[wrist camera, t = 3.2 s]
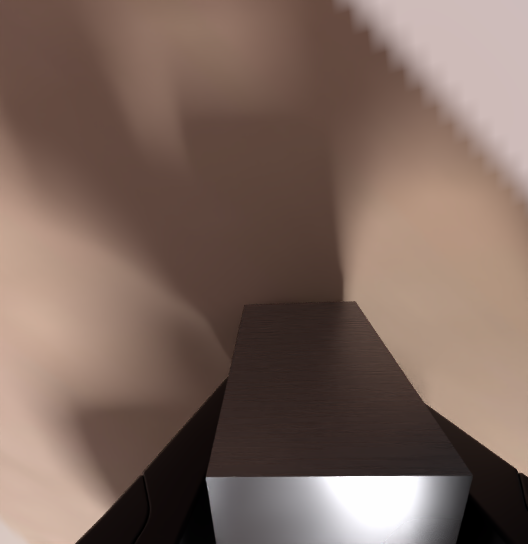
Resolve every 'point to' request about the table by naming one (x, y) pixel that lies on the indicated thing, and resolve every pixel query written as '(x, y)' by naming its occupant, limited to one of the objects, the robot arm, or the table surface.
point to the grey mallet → (328, 438)
